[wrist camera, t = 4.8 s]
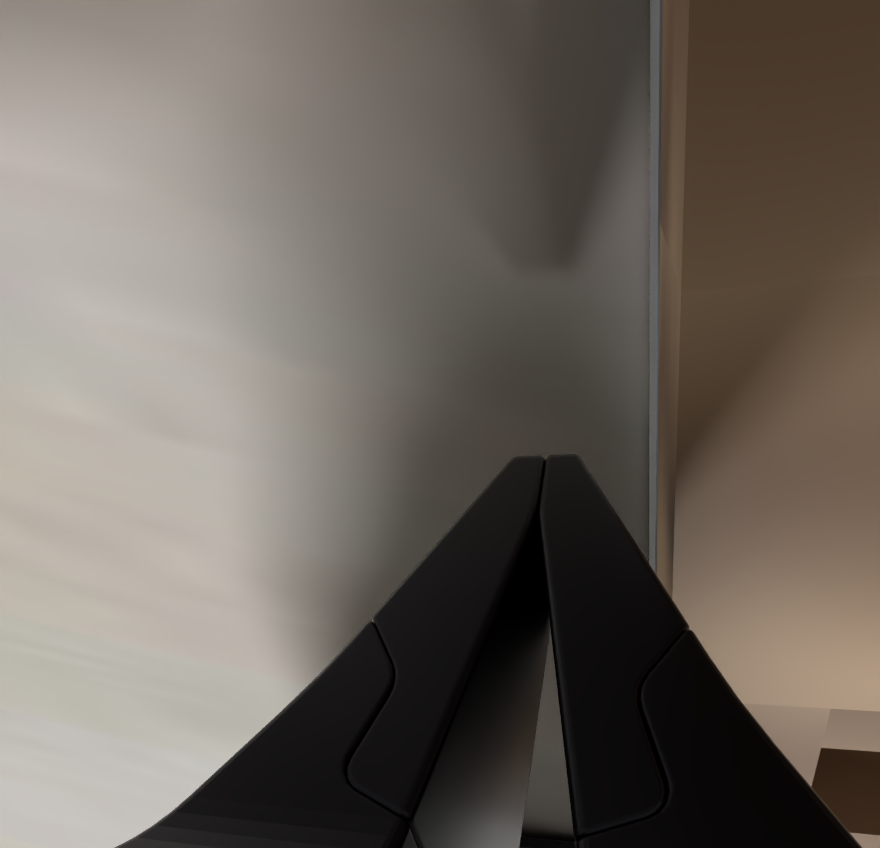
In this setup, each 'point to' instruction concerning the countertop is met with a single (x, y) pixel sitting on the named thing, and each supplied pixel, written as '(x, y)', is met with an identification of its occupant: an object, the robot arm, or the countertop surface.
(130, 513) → the countertop surface
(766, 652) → the panel
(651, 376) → the boss board
